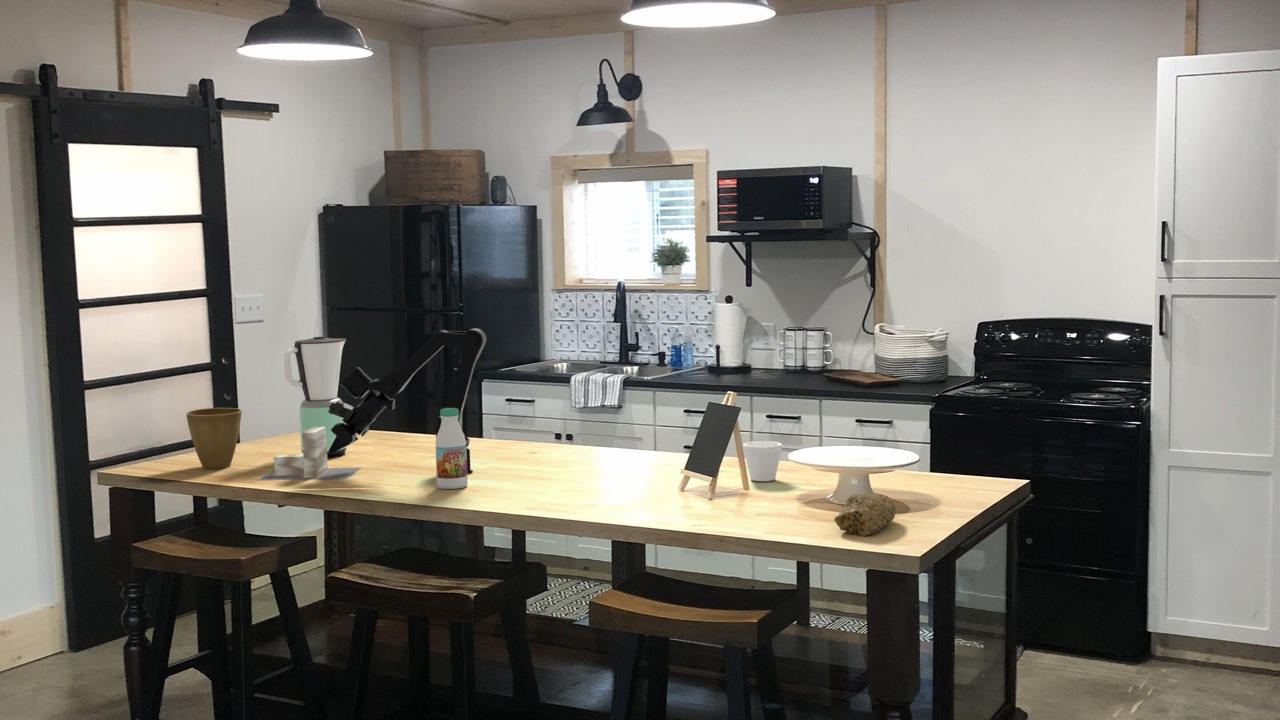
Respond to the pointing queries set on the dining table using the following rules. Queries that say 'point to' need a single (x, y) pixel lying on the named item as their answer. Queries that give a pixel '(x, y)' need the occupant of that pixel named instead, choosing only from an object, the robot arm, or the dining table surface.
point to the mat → (329, 474)
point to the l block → (306, 456)
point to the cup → (762, 459)
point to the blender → (317, 383)
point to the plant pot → (214, 435)
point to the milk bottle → (451, 452)
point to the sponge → (866, 513)
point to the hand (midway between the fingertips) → (330, 452)
